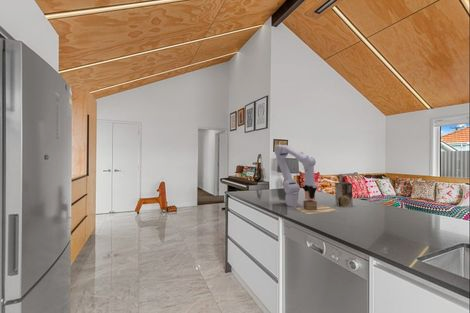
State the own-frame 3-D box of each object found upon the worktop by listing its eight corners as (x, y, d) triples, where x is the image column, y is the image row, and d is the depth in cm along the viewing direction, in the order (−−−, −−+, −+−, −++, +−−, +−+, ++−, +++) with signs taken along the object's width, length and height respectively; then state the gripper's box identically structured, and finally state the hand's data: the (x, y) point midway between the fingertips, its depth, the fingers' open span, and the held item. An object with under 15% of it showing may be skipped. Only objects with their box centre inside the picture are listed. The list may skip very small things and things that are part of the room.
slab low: (303, 208, 158) (303, 204, 158) (312, 207, 160) (312, 203, 159) (307, 210, 153) (307, 206, 153) (316, 209, 154) (316, 205, 154)
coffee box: (349, 206, 165) (348, 182, 165) (352, 208, 159) (352, 183, 158) (335, 206, 166) (334, 182, 166) (338, 208, 160) (337, 183, 159)
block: (305, 198, 158) (304, 191, 158) (311, 198, 159) (311, 190, 159) (308, 200, 153) (308, 192, 153) (315, 199, 154) (314, 191, 154)
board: (293, 209, 162) (293, 207, 162) (324, 206, 165) (324, 205, 165) (306, 215, 144) (306, 213, 144) (340, 212, 148) (340, 211, 148)
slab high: (303, 204, 158) (303, 200, 158) (312, 203, 159) (312, 200, 159) (307, 206, 153) (307, 202, 153) (316, 205, 154) (316, 201, 154)
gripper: (321, 177, 149) (321, 199, 149) (309, 175, 164) (310, 195, 164) (310, 177, 148) (310, 200, 148) (299, 175, 162) (300, 196, 163)
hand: (309, 197), depth 156 cm, fingers closed on block, 4 cm apart
